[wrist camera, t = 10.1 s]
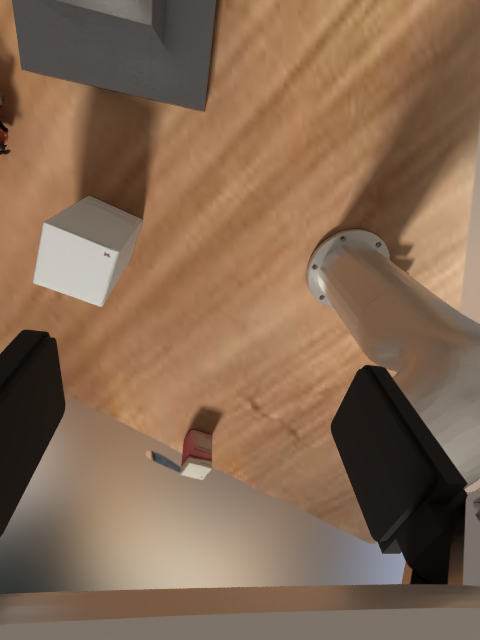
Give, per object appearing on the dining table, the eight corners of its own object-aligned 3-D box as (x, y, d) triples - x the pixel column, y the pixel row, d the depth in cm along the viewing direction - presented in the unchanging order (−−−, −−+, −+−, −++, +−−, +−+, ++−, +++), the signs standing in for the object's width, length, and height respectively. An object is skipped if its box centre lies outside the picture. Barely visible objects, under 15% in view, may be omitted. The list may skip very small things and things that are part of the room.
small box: (212, 434, 67) (213, 469, 60) (204, 446, 68) (203, 481, 62) (191, 428, 65) (188, 463, 58) (182, 440, 67) (179, 475, 60)
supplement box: (87, 193, 40) (42, 218, 29) (144, 219, 42) (121, 251, 31) (74, 244, 43) (29, 283, 32) (128, 265, 45) (102, 309, 35)
